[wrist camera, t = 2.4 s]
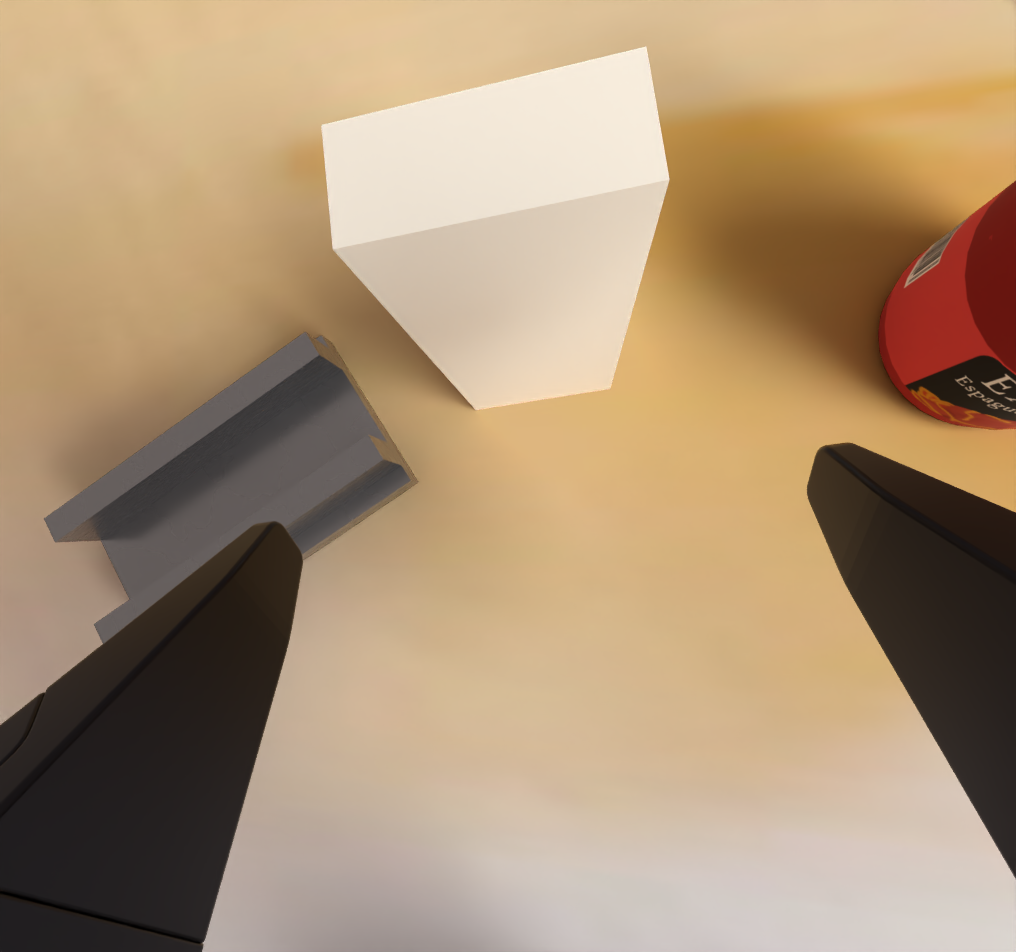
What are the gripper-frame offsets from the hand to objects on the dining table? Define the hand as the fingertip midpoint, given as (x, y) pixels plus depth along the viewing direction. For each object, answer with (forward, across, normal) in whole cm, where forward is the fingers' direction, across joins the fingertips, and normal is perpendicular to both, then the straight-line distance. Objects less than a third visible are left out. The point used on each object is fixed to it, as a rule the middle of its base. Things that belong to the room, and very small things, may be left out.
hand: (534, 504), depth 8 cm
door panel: (+14, 0, +5) cm, 14 cm away
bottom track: (+11, +14, +7) cm, 19 cm away
